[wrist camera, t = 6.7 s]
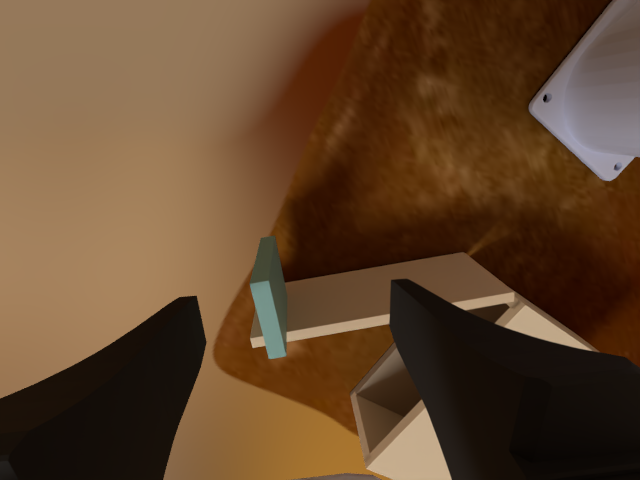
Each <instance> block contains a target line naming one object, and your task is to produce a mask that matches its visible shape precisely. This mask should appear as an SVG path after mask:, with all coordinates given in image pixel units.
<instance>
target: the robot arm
mask: <svg viewBox="0 0 640 480" xmlns="http://www.w3.org/2000/svg"><path fill="white" fill-rule="evenodd" d="M545 94H546V95H547V99H546V101H545V102H544V101H543V97H544V95H545ZM529 112H530V113H531V114H532V115H533V116H534V117H535V118H536V119H537V120H538V121H539V122H540V123H541V124H543V125H544V126H545V127H546V128H547V129H548V130H549V131H550V132H551V133H552V134H553V135H554V136H555V137H557V138H558V139H559V140H560V141H561V142H562V143H563V144H564V145H565V146H566V147H567V148H568V149H569V150H570V151H572V152H573V153H574V154H575V155H576V156H577V157H578V158H579V159H580V160H581V161H582V162H583V163H584V164H586V165H587V166H588V167H589V168H590V169H591V170H592V171H593V172H594V173H595V174H596V175H597V176H598V177H599V178H601V179H602V180H606V181H611V180H613V179H614V178H616V177H617V176H618V175H619V173H620V172H621V171H622V170H623V169H624V168H625V167H626V166H627V165H628V164H629V163H630V162H631V161H632V160H633V159H634V158H635V157H640V0H612V1H611V3H610V4H609V5H608V6H607V8H606V9H605V10H604V11H603V13H602V14H601V15H600V16H599V18H598V19H597V20H596V21H595V23H594V24H593V25H592V26H591V27H590V29H589V30H588V31H587V32H586V34H585V35H584V36H583V37H582V39H581V40H580V41H579V42H578V44H577V45H576V46H575V47H574V48H573V50H572V51H571V52H570V53H569V55H568V56H567V57H566V58H565V60H564V61H563V62H562V63H561V65H560V66H559V67H558V68H557V70H556V71H555V72H554V73H553V74H552V76H551V77H550V78H549V79H548V81H547V82H546V83H545V84H544V86H543V87H542V88H541V89H540V91H539V92H538V93H537V94H536V96H535V97H534V98H533V99H532V100H531V102H530V104H529ZM615 164H616V167H615V168H614V166H615ZM389 326H390V329H391V332H392V335H393V339H394V341H395V344H396V347H397V350H398V352H399V354H400V356H401V358H402V360H403V362H404V364H405V366H406V368H407V370H408V372H409V374H410V376H411V378H412V380H413V382H414V384H415V386H416V388H417V390H418V392H419V394H420V396H421V398H422V401H423V403H424V405H425V407H426V410H427V412H428V414H429V417H430V420H431V422H432V425H433V428H434V431H435V433H436V436H437V439H438V441H439V444H440V447H441V450H442V453H443V456H444V458H445V461H446V464H447V467H448V470H449V473H450V476H451V479H452V480H640V368H639V367H638V366H636V365H635V364H634V363H632V362H631V361H630V360H628V359H627V358H625V357H621V356H616V355H611V354H605V353H600V352H595V351H589V350H584V349H579V348H574V347H570V346H566V345H562V344H558V343H554V342H550V341H547V340H543V339H539V338H536V337H532V336H529V335H526V334H523V333H520V332H517V331H514V330H511V329H508V328H505V327H503V326H500V325H497V324H495V323H493V322H490V321H488V320H485V319H483V318H480V317H478V316H476V315H474V314H472V313H470V312H468V311H466V310H463V309H461V308H459V307H457V306H456V305H454V304H452V303H450V302H448V301H446V300H444V299H443V298H441V297H439V296H437V295H436V294H434V293H432V292H430V291H429V290H427V289H425V288H424V287H422V286H420V285H418V284H417V283H415V282H413V281H411V280H409V279H407V278H406V279H394V280H391V291H390V320H389ZM205 346H206V338H205V334H204V328H203V324H202V319H201V314H200V310H199V305H198V301H197V296H188V297H179V298H177V299H176V300H174V301H172V302H171V303H169V304H168V305H167V306H165V307H164V308H162V309H161V310H160V311H158V312H157V313H156V314H154V315H153V316H151V317H150V318H148V319H147V320H146V321H144V322H143V323H141V324H140V325H139V326H137V327H136V328H134V329H133V330H131V331H130V332H128V333H127V334H125V335H124V336H122V337H121V338H119V339H118V340H116V341H115V342H113V343H111V344H110V345H108V346H107V347H105V348H103V349H102V350H100V351H98V352H97V353H95V354H93V355H91V356H89V357H88V358H86V359H84V360H82V361H81V362H79V363H77V364H75V365H73V366H71V367H69V368H67V369H65V370H63V371H61V372H59V373H57V374H55V375H53V376H50V377H48V378H46V379H45V380H42V381H40V382H38V383H36V384H34V385H31V386H29V387H27V388H24V389H22V390H20V391H17V392H15V393H13V394H10V395H8V396H5V397H3V398H1V399H0V480H163V478H164V474H165V470H166V466H167V462H168V459H169V455H170V451H171V448H172V444H173V440H174V437H175V434H176V431H177V428H178V425H179V423H180V420H181V418H182V415H183V412H184V410H185V407H186V404H187V402H188V399H189V397H190V394H191V392H192V389H193V386H194V384H195V381H196V378H197V376H198V373H199V370H200V368H201V364H202V359H203V356H204V351H205ZM293 480H381V479H379V478H377V477H376V476H373V475H365V474H350V473H344V474H336V475H327V476H319V477H311V478H302V479H293Z"/></svg>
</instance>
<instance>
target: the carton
mask: <svg viewBox="0 0 640 480" xmlns="http://www.w3.org/2000/svg"><path fill="white" fill-rule="evenodd" d="M510 289H511V288H510ZM511 290H512V289H511ZM513 291H514V290H513ZM514 292H515V291H514ZM466 311H468V312H470V313H472V314H474V315H476V316H478V317H480V318H483V319H485V320H488V321H490V322H493V323H495V324H497V325H500V326H503V327H505V328H508V329H511V330H514V331H517V332H520V333H523V334H526V335H529V336H532V337H536V338H539V339H543V340H547V341H550V342H554V343H558V344H562V345H566V346H570V347H574V348H579V349H584V350H589V351H595V352H599V351H598V350H597V349H595V348H594V347H593V346H591V345H590V344H589V343H587V342H586V341H585V340H583V339H582V338H581V337H579V336H578V335H577V334H576V333H574V332H573V331H571V330H570V329H568V328H567V327H566V326H564V325H563V324H561V323H560V322H558V321H557V320H556V319H554V318H553V317H551V316H550V315H548V314H547V313H545V312H544V311H543V310H541V309H540V308H538V307H537V306H535V305H534V304H532V303H531V302H530V301H528V300H527V299H525V298H524V297H522V296H521V295H519V294H518V293H517V292H515V293H514V302H509V303H503V304H498V305H492V306H486V307H481V308H475V309H470V310H466ZM350 396H351V401H352V405H353V410H354V415H355V419H356V424H357V429H358V433H359V438H360V443H361V447H362V452H363V457H364V461H365V466H366V469H368V470H371V471H373V472H376V473H378V474H381V475H383V476H386V477H388V478H390V479H393V480H452V479H451V476H450V473H449V470H448V467H447V464H446V461H445V458H444V456H443V453H442V450H441V447H440V444H439V441H438V439H437V436H436V433H435V431H434V428H433V425H432V422H431V420H430V417H429V414H428V412H427V410H426V407H425V405H424V403H423V401H422V398H421V396H420V394H419V392H418V390H417V388H416V386H415V384H414V382H413V380H412V378H411V376H410V374H409V372H408V370H407V368H406V366H405V364H404V362H403V360H402V358H401V356H400V354H399V352H398V350H397V347H396V344H395V342H394V343H393V344H392V346H391V347H390V348H389V349H388V350H387V351H386V352H385V354H384V355H383V356H382V357H381V358H380V359H379V360H378V362H377V363H376V364H375V365H374V366H373V367H372V369H371V370H370V371H369V372H368V373H367V374H366V375H365V377H364V378H363V379H362V380H361V381H360V382H359V383H358V385H357V386H356V387H355V388H354V389H353V390H352V391H351V393H350Z"/></svg>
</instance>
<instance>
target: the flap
mask: <svg viewBox="0 0 640 480" xmlns="http://www.w3.org/2000/svg"><path fill="white" fill-rule="evenodd" d="M406 278H407V279H409V280H411V281H413V282H415V283H417V284H418V285H420V286H422V287H424V288H425V289H427V290H429V291H430V292H432V293H434V294H436V295H437V296H439V297H441V298H443V299H444V300H446V301H448V302H450V303H452V304H454V305H456V306H457V307H459V308H461V309H463V310H470V309H475V308H481V307H486V306H492V305H498V304H503V303H509V302H514V293H515V292H514V291H513V290H511V289H510V288H509V287H508V286H506V285H505V284H504V283H503V282H501V281H500V280H499V279H497V278H496V277H495V276H494V275H492V274H491V273H490V272H489V271H487V270H486V269H485V268H483V267H482V266H481V265H480V264H478V263H477V262H476V261H474V260H473V259H472V258H471V257H469V256H468V255H467V254H466V253H464V252H460V253H455V254H449V255H443V256H437V257H431V258H426V259H420V260H414V261H408V262H402V263H396V264H391V265H385V266H379V267H373V268H367V269H362V270H356V271H350V272H344V273H338V274H333V275H327V276H321V277H315V278H309V279H304V280H298V281H292V282H286V283H285V282H284V277H283V272H282V268H281V263H280V258H279V254H278V249H277V244H276V239H275V236H270V237H264V238H261V240H260V244H259V248H258V253H257V256H256V260H255V264H254V268H253V273H252V277H251V281H250V287H251V291H252V295H253V298H254V302H255V306H256V309H255V315H254V320H253V326H252V331H251V337H250V340H251V343H252V347H253V348H255V347H260V346H266V349H267V353H268V357H269V359H273V358H278V357H284V356H286V343H287V342H289V341H294V340H300V339H306V338H311V337H317V336H323V335H328V334H334V333H340V332H345V331H351V330H357V329H362V328H368V327H373V326H379V325H385V324H389V320H390V291H391V280H394V279H406Z"/></svg>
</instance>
